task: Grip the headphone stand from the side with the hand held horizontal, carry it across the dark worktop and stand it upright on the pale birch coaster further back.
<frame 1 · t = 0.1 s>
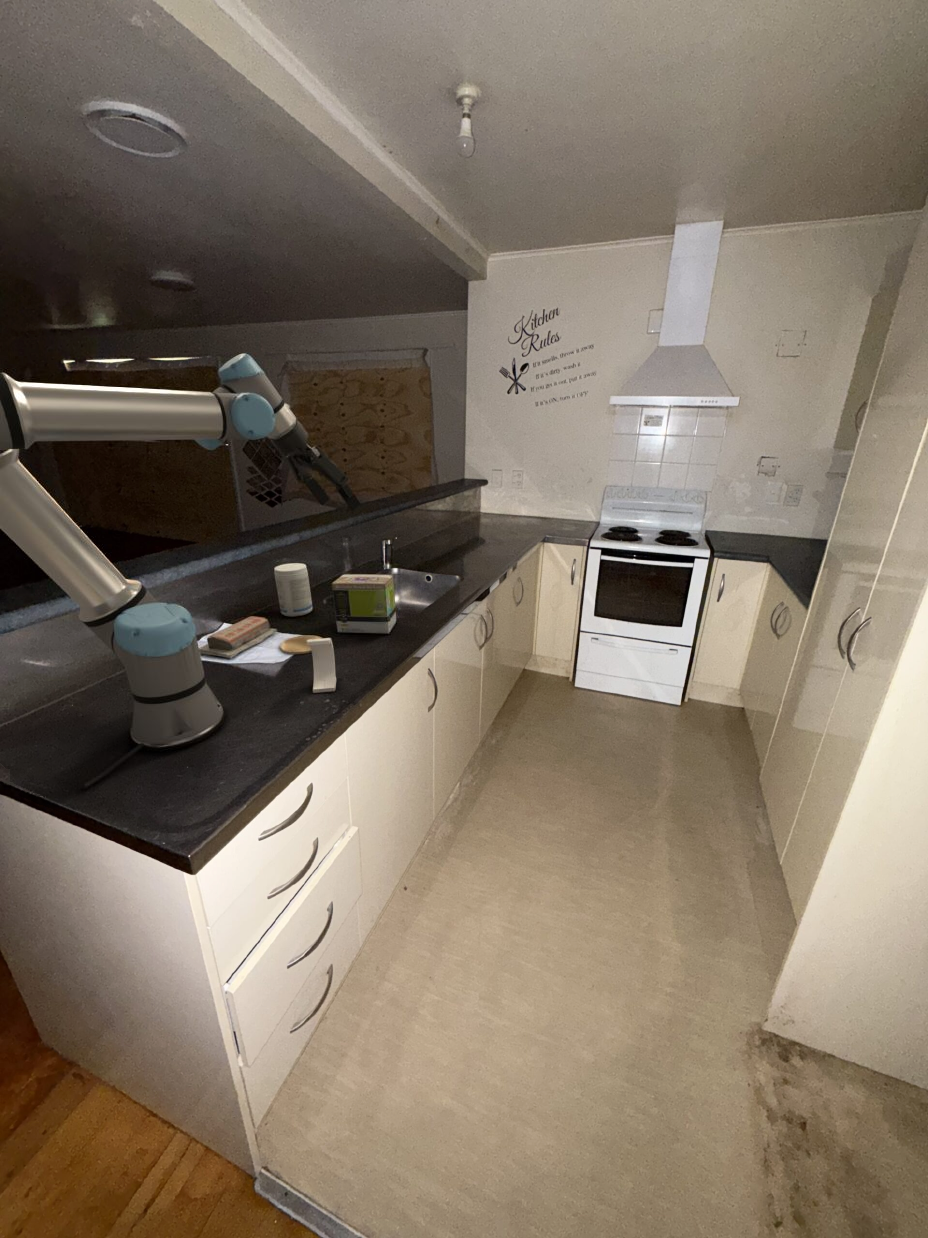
hand: (340, 504, 120), 36 cm above the counter, tool tilted 35°, fingers open, 13 cm apart
supplement tub: (296, 612, 152), on the counter
birch coaster: (302, 645, 128), on the counter
packaged product: (240, 643, 129), on the counter
tea box: (367, 628, 140), on the counter
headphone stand: (325, 686, 107), on the counter
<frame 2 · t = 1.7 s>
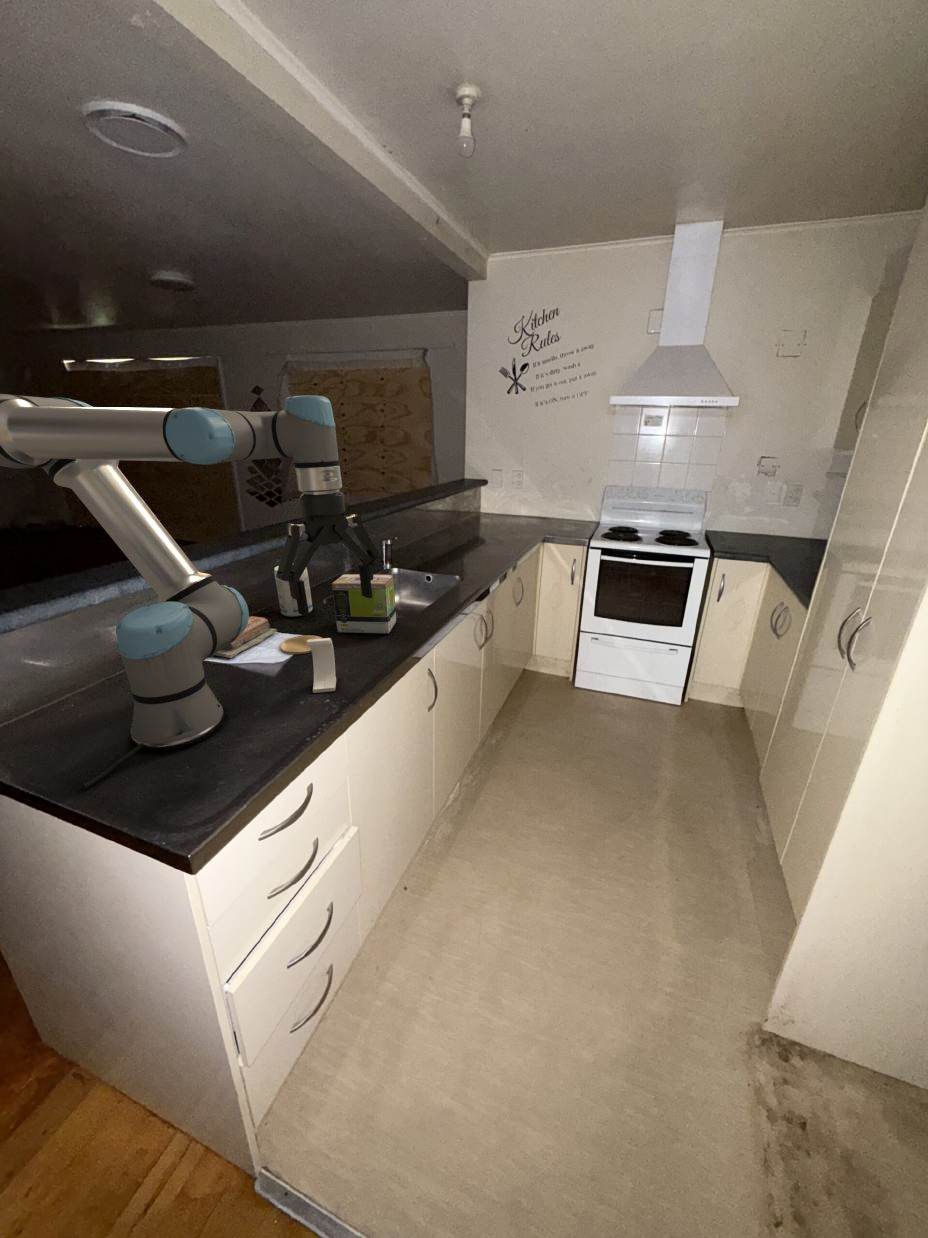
hand: (337, 605, 93), 21 cm above the counter, tool pointing down, fingers open, 13 cm apart
nothing on the counter moved.
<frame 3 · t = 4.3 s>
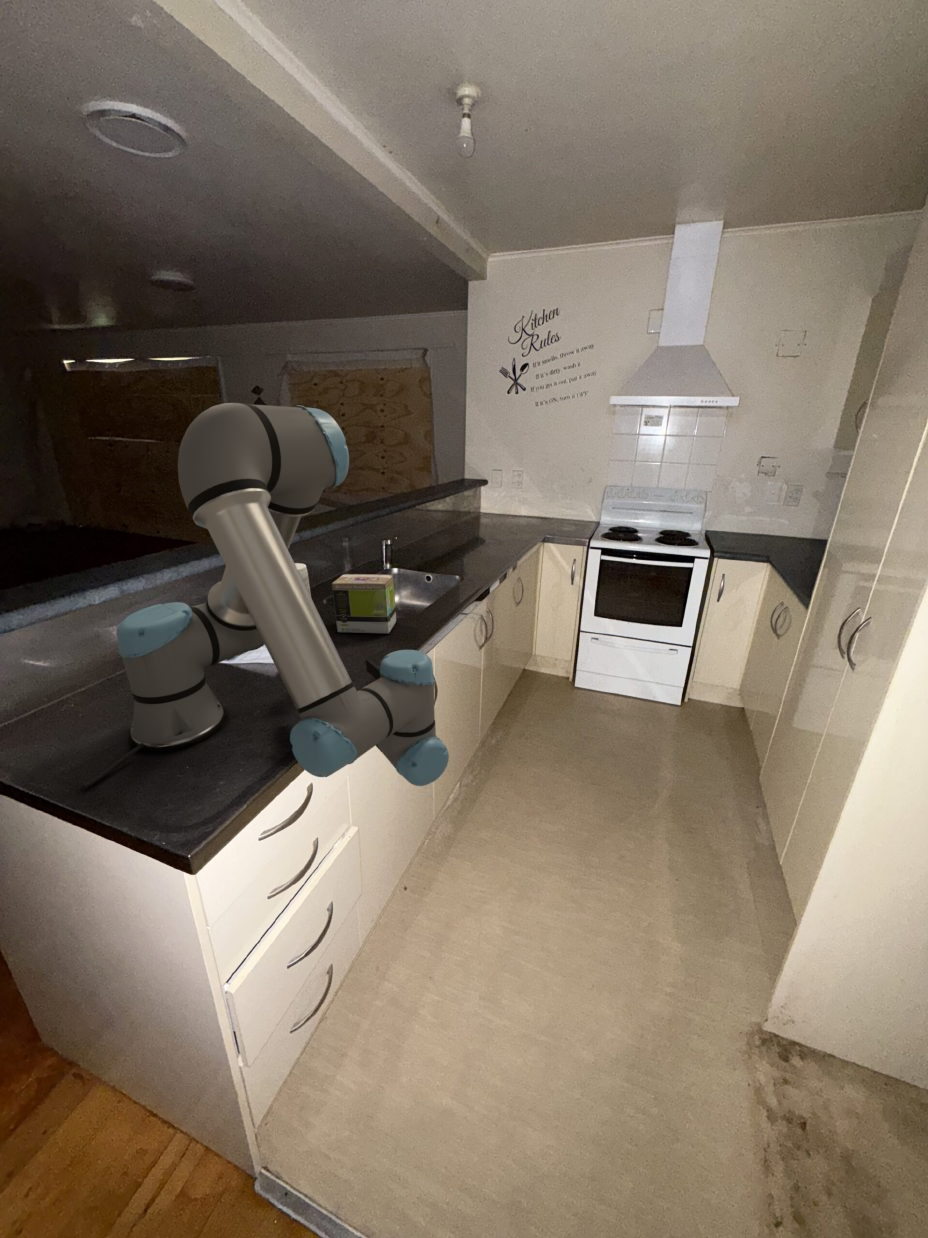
hand: (336, 673, 98), 7 cm above the counter, tool horizontal, fingers open, 13 cm apart
nothing on the counter moved.
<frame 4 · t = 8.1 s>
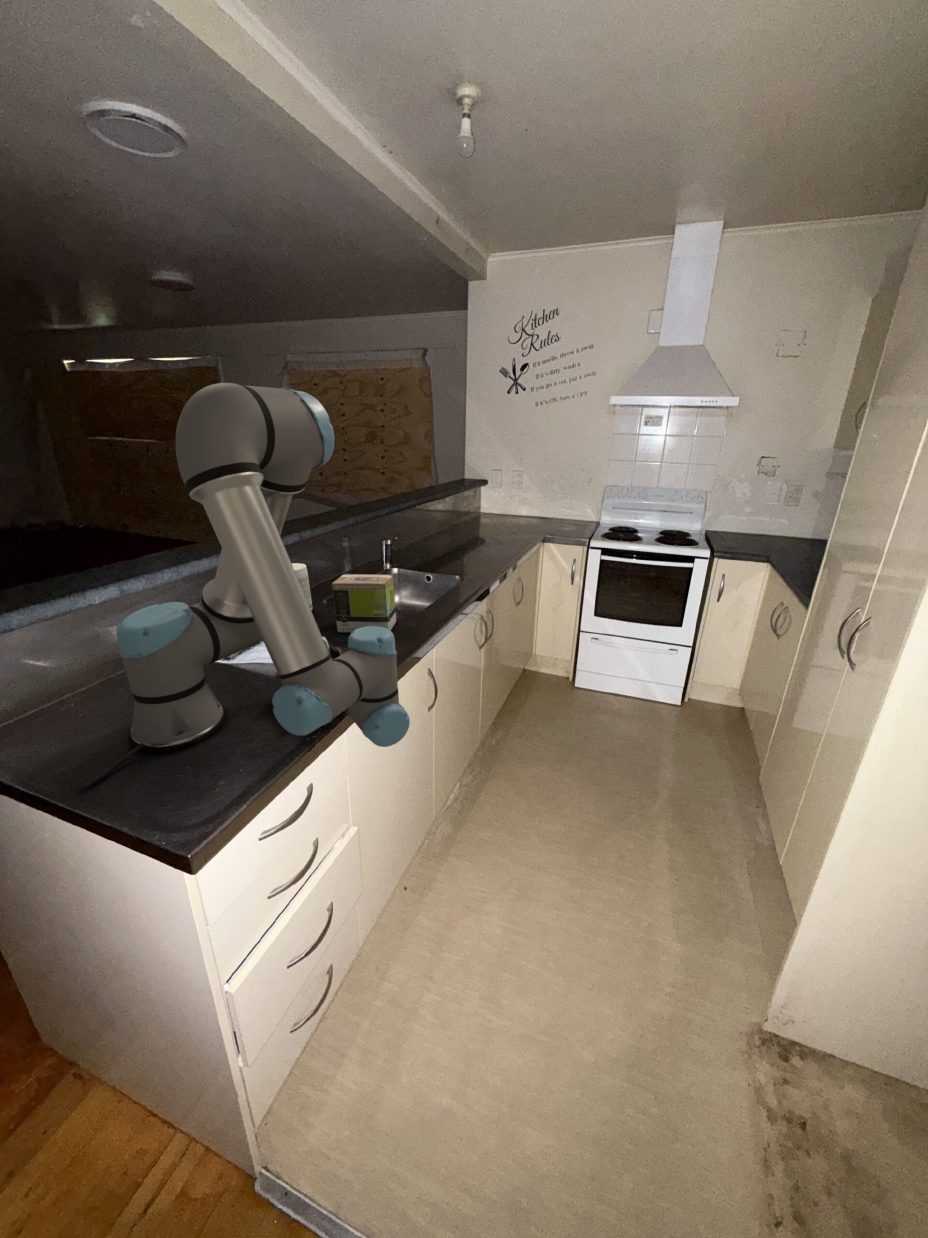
hand: (314, 649, 109), 7 cm above the counter, tool horizontal, fingers closed on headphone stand, 5 cm apart
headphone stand: (325, 685, 107), on the counter, touching gripper
everything else where it was.
when the fingers open (7 cm above the counter, at t = 16.6 s): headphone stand stays where it is, resting on birch coaster.
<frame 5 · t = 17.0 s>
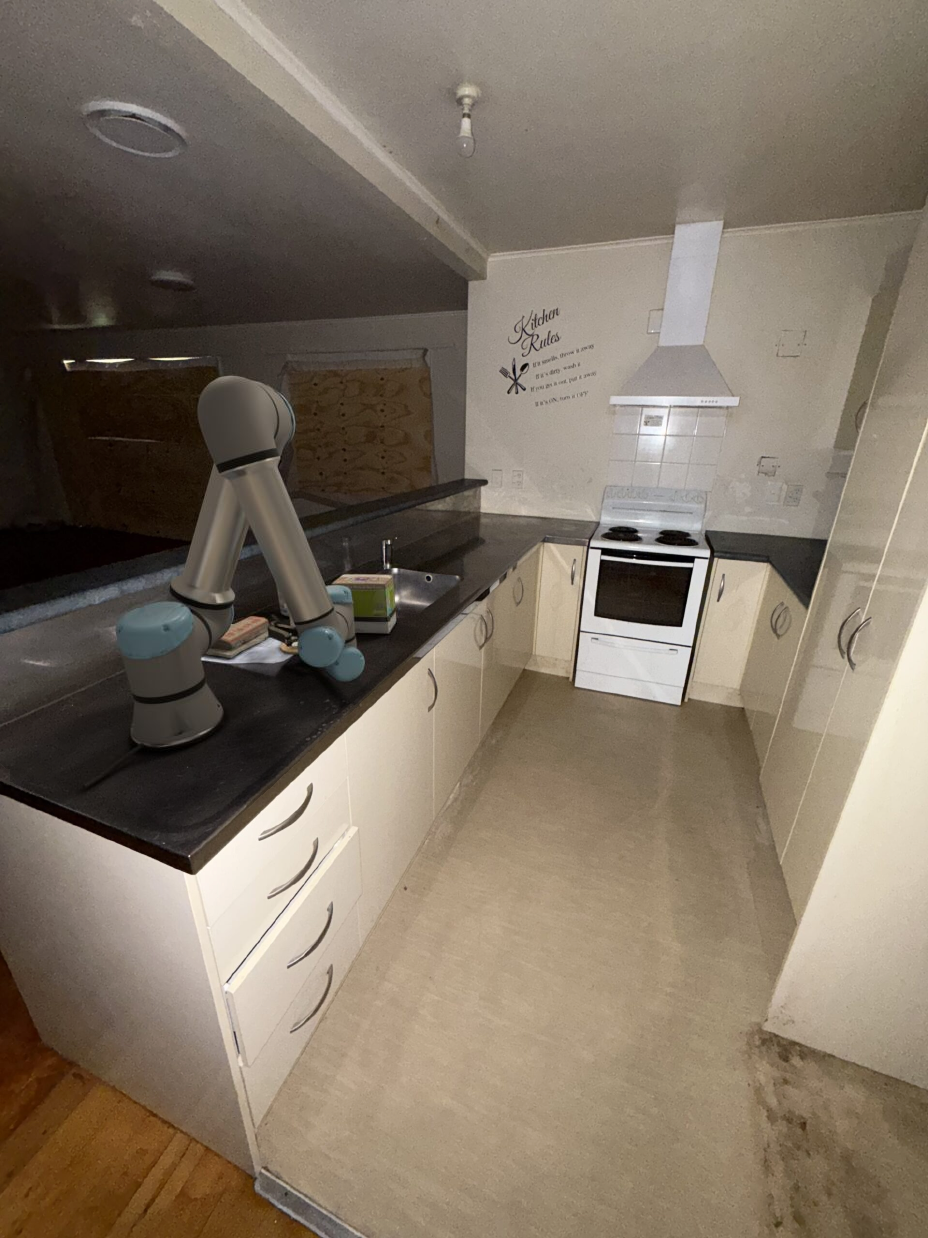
hand: (294, 615, 128), 7 cm above the counter, tool horizontal, fingers open, 10 cm apart
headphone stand: (301, 644, 127), resting on birch coaster
everything else where it was.
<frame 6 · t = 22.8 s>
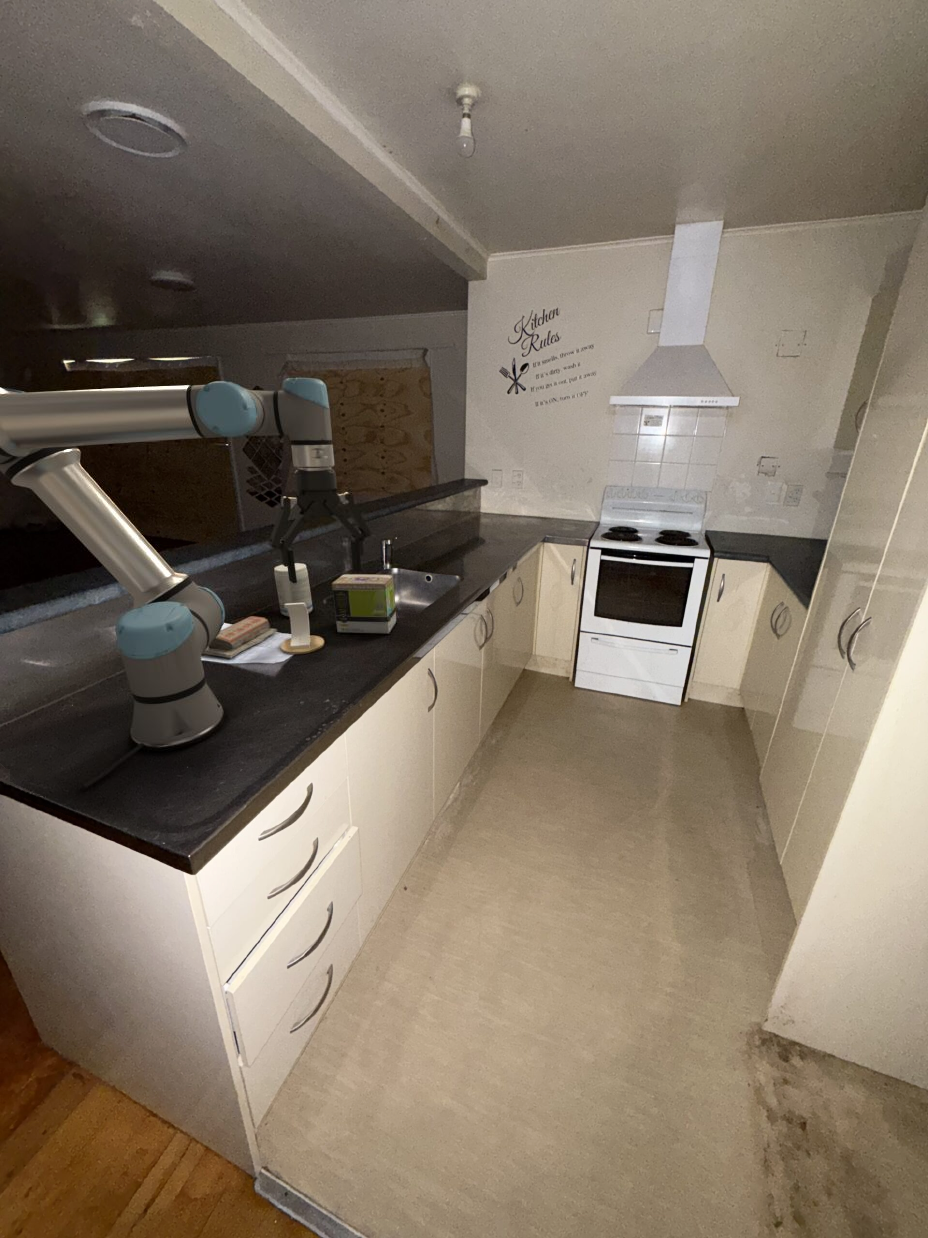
hand: (326, 576, 100), 25 cm above the counter, tool pointing down, fingers open, 13 cm apart
nothing on the counter moved.
at the end: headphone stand 0.4 cm off-centre on the birch coaster, point 0.4 cm above the birch coaster's base; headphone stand tilted 0°; the gripper is holding nothing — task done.
